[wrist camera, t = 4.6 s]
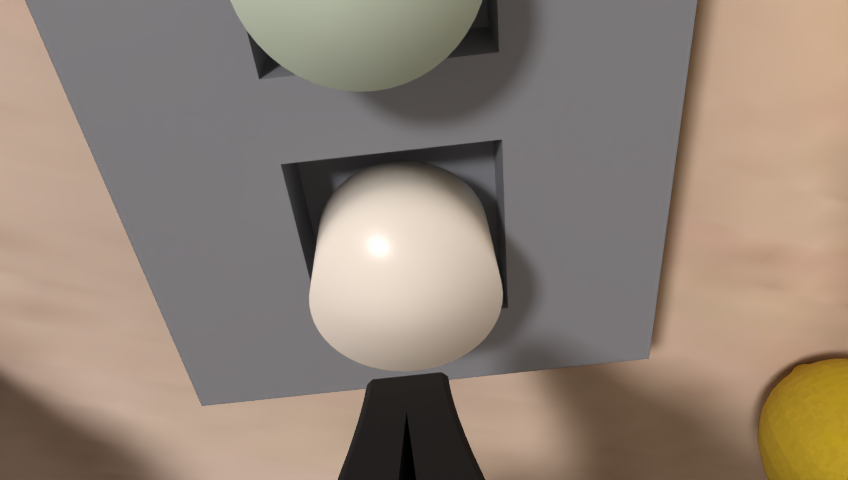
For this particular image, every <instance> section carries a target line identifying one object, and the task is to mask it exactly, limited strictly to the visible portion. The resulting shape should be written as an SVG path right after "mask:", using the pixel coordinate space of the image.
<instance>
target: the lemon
mask: <svg viewBox="0 0 848 480" xmlns="http://www.w3.org/2000/svg"><path fill="white" fill-rule="evenodd" d="M758 445H759V449H760V454H761V458H762V463H763V466H764V470H765V473H766V476H767V478H768V480H848V359H846V358H845V359H828V360H823V361H818V362H814V363H811V364H800V365H798V366H796V367H795V368H794V369H793V370H792V372H791V373H790V374H789V375H788V376H786V377H785V378H784V379H782V380H781V381H780V382H779V383H778V384H777V385H776V387H775V388H774V389H773V390H772V391H771V393H770V395H769V396H768V398H767V400H766V402H765V404H764V405H763V408H762V411H761V415H760V420H759V427H758Z"/></svg>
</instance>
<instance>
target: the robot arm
mask: <svg viewBox="0 0 848 480" xmlns="http://www.w3.org/2000/svg"><path fill="white" fill-rule="evenodd" d="M338 480H485V478H484V476H483V474H482V472H481V470H480V467H479V465H478V463H477V461H476V459H475V457H474V455H473V452H472V450H471V448H470V445H469V443H468V441H467V438H466V436H465V433H464V430H463V428H462V425H461V423H460V420H459V417H458V414H457V411H456V408H455V405H454V401H453V398H452V394H451V390H450V385H449V379H448V376H447V375H445V374H444V373H442V372H437V373H428V374H418V375H409V376H399V377H389V378H380V379H372V380H371V381H370V382H369V383H368V384H367V388H366V393H365V398H364V402H363V406H362V410H361V413H360V417H359V420H358V424H357V427H356V430H355V433H354V436H353V439H352V442H351V445H350V448H349V451H348V454H347V456H346V459H345V461H344V464H343V467H342V469H341V472H340V475H339V477H338Z"/></svg>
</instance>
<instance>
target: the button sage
mask: <svg viewBox="0 0 848 480" xmlns="http://www.w3.org/2000/svg"><path fill="white" fill-rule="evenodd" d="M230 1H231V3H232V5H233V7H234V10H235V12H236V14H237V16H238V17H239V19H240V21H241V22H242V24H243V25H244V27H245V29H246V30H247V32H248V33H249V34H250V35H251V37H252V38H253V39H254V40H255V42H256V43H257V44H258V45H259V46H260V47H261V48H262V49H263V50H264V51H265V52H266V53H267V54H268V55H269V56H270V57H271V58H272V59H274V60H275V61H276V62H277V63H279V64H280V65H281V66H282V67H284V68H286V69H287V70H289V71H290V72H292V73H294V74H295V75H297V76H299V77H301V78H303V79H305V80H308V81H310V82H312V83H315V84H318V85H321V86H324V87H327V88H332V89H337V90H342V91H354V92H366V91H378V90H384V89H389V88H393V87H396V86H399V85H403V84H406V83H408V82H410V81H412V80H414V79H417V78H419V77H421V76H422V75H424V74H425V73H427V72H429V71H430V70H432V69H433V68H435V67H436V66H437V65H438V64H440V63H441V62H442V61H443V60H445V59H446V58H447V57H448V56H449V55H450V53H451V52H452V51H453V50H454V49H455V48H456V47H457V46H458V45H459V43H460V42H461V41H462V39H463V38H464V37H465V35H466V34H467V32H468V30H469V29H470V27H471V25H472V23H473V22H474V20H475V18H476V15H477V13H478V10H479V8H480V5H481V3H482V0H230Z"/></svg>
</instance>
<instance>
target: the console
mask: <svg viewBox="0 0 848 480" xmlns="http://www.w3.org/2000/svg"><path fill="white" fill-rule="evenodd" d="M25 1H26V3H27V6H28V8H29V10H30V13H31V15H32V17H33V19H34V22H35V24H36V26H37V29H38V31H39V33H40V36H41V38H42V40H43V42H44V45H45V47H46V49H47V52H48V54H49V56H50V59H51V61H52V63H53V65H54V68H55V70H56V72H57V75H58V77H59V79H60V81H61V84H62V86H63V88H64V91H65V93H66V95H67V98H68V100H69V102H70V104H71V107H72V109H73V111H74V114H75V116H76V118H77V120H78V123H79V125H80V127H81V130H82V132H83V134H84V137H85V139H86V141H87V143H88V146H89V148H90V150H91V153H92V155H93V157H94V160H95V162H96V164H97V166H98V169H99V171H100V173H101V176H102V178H103V180H104V182H105V185H106V187H107V189H108V192H109V194H110V196H111V199H112V201H113V203H114V205H115V208H116V210H117V212H118V215H119V217H120V219H121V221H122V224H123V226H124V228H125V231H126V233H127V235H128V238H129V240H130V242H131V244H132V247H133V249H134V251H135V254H136V256H137V258H138V261H139V263H140V265H141V267H142V270H143V272H144V274H145V277H146V279H147V281H148V283H149V286H150V288H151V290H152V293H153V295H154V297H155V300H156V302H157V304H158V306H159V309H160V311H161V313H162V316H163V318H164V320H165V322H166V325H167V327H168V329H169V332H170V334H171V336H172V339H173V341H174V343H175V345H176V348H177V350H178V352H179V355H180V357H181V359H182V362H183V364H184V366H185V368H186V371H187V373H188V375H189V378H190V380H191V382H192V384H193V387H194V389H195V391H196V394H197V396H198V398H199V401H200V403H201V405H202V406H206V405H216V404H225V403H235V402H244V401H254V400H263V399H272V398H282V397H291V396H301V395H310V394H320V393H329V392H338V391H348V390H357V389H366V388H367V384H368V383H369V382H370V381H371V380H372V379H380V378H389V377H399V376H409V375H418V374H428V373H437V372H442V373H444V374H445V375H447V376H448V379H449V380H452V379H461V378H470V377H480V376H489V375H499V374H508V373H518V372H527V371H536V370H546V369H555V368H565V367H574V366H584V365H593V364H602V363H612V362H621V361H631V360H640V359H649V354H650V346H651V339H652V331H653V324H654V317H655V309H656V302H657V295H658V287H659V280H660V272H661V265H662V258H663V250H664V243H665V236H666V228H667V221H668V213H669V206H670V199H671V191H672V184H673V177H674V169H675V162H676V154H677V147H678V140H679V132H680V125H681V118H682V110H683V103H684V95H685V88H686V81H687V73H688V66H689V58H690V51H691V44H692V36H693V29H694V22H695V14H696V7H697V0H482V3H481V5H480V8H479V10H478V13H477V15H476V18H475V20H474V22H473V23H472V25H471V27H470V29H469V30H468V32H467V34H466V35H465V37H464V38H463V39H462V41H461V42H460V43H459V45H458V46H457V47H456V48H455V49H454V50H453V51H452V52H451V53H450V55H449V56H448V57H447V58H446V59H445V60H443V61H442V62H441V63H440V64H438V65H437V66H436V67H435V68H433V69H432V70H430V71H429V72H427V73H425V74H424V75H422V76H421V77H419V78H417V79H414V80H412V81H410V82H408V83H406V84H403V85H399V86H396V87H393V88H389V89H384V90H378V91H366V92H354V91H342V90H337V89H332V88H327V87H324V86H321V85H318V84H315V83H312V82H310V81H308V80H305V79H303V78H301V77H299V76H297V75H295V74H294V73H292V72H290V71H289V70H287V69H286V68H284V67H282V66H281V65H280V64H279V63H277V62H276V61H275V60H274V59H272V58H271V57H270V56H269V55H268V54H267V53H266V52H265V51H264V50H263V49H262V48H261V47H260V46H259V45H258V44H257V43H256V42H255V40H254V39H253V38H252V37H251V35H250V34H249V33H248V32H247V30H246V29H245V27H244V25H243V24H242V22H241V21H240V19H239V17H238V16H237V14H236V12H235V10H234V7H233V5H232V3H231V1H230V0H25ZM392 161H418V162H423V163H429V164H432V165H435V166H438V167H441V168H443V169H445V170H447V171H450V172H451V173H453V174H455V175H456V176H458V177H459V178H460V179H462V180H463V181H464V182H465V183H467V184H468V185H469V187H470V188H471V189H472V190H473V191H474V192H475V194H476V195H477V197H478V198H479V199H480V202H481V204H482V206H483V208H484V211H485V214H486V218H487V222H488V226H489V231H490V235H491V239H492V244H493V248H494V252H495V257H496V261H497V265H498V270H499V274H500V278H501V283H502V290H503V300H502V307H501V311H500V314H499V317H498V319H497V322H496V323H495V325H494V327H493V329H492V330H491V331H490V333H489V334H488V335H487V337H486V338H485V339H484V340H483V341H482V342H481V343H480V344H479V345H478V346H476V347H475V348H474V349H473V350H471V351H470V352H469V353H467V354H465V355H464V356H462V357H460V358H458V359H456V360H454V361H452V362H450V363H447V364H444V365H441V366H438V367H434V368H430V369H425V370H418V371H389V370H382V369H377V368H373V367H369V366H366V365H363V364H360V363H358V362H356V361H354V360H351V359H349V358H348V357H346V356H344V355H343V354H341V353H340V352H338V351H337V350H336V349H334V348H333V347H332V346H331V345H330V344H329V343H328V342H327V341H326V340H325V339H324V338H323V336H322V335H321V334H320V332H319V331H318V329H317V327H316V325H315V323H314V321H313V318H312V315H311V311H310V306H309V292H310V285H311V278H312V271H313V264H314V258H315V251H316V244H317V237H318V230H319V223H320V218H321V214H322V211H323V208H324V206H325V204H326V203H327V201H328V199H329V198H330V196H331V195H332V193H333V192H334V191H335V190H336V189H337V188H338V187H339V186H340V185H341V184H342V183H343V182H344V181H345V180H347V179H348V178H349V177H351V176H352V175H354V174H356V173H357V172H359V171H361V170H364V169H366V168H368V167H371V166H374V165H377V164H381V163H386V162H392Z"/></svg>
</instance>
